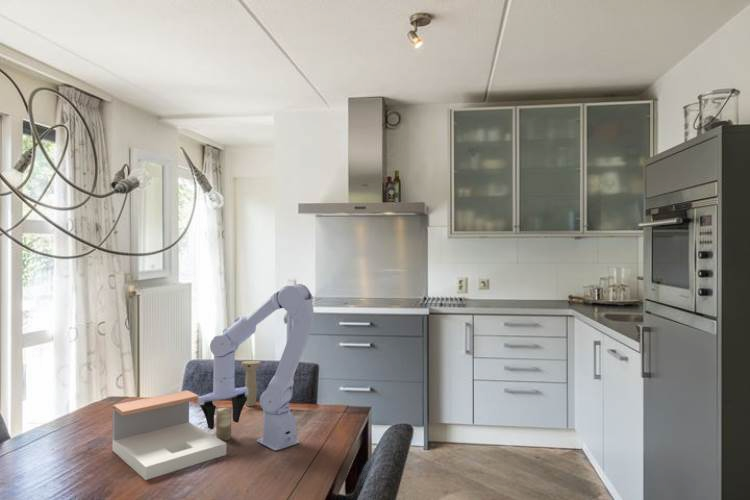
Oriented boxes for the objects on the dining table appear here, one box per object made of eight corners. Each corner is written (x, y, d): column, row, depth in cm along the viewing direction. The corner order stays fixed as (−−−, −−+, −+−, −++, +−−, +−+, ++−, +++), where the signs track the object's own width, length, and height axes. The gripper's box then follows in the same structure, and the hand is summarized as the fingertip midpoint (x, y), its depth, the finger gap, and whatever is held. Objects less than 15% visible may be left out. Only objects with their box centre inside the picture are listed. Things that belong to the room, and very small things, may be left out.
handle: (258, 407, 161) (258, 363, 162) (239, 407, 162) (239, 363, 162) (261, 403, 166) (262, 360, 167) (243, 403, 166) (243, 360, 167)
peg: (233, 438, 134) (233, 409, 134) (220, 442, 131) (220, 413, 132) (226, 434, 137) (226, 406, 137) (213, 438, 134) (213, 409, 134)
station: (226, 454, 123) (226, 408, 123) (145, 480, 109) (146, 427, 109) (186, 430, 140) (187, 390, 140) (112, 450, 126) (112, 404, 126)
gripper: (240, 370, 143) (239, 415, 142) (193, 378, 132) (192, 427, 132) (252, 374, 138) (251, 421, 137) (204, 383, 127) (203, 434, 127)
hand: (223, 424), depth 134 cm, fingers open, 7 cm apart
